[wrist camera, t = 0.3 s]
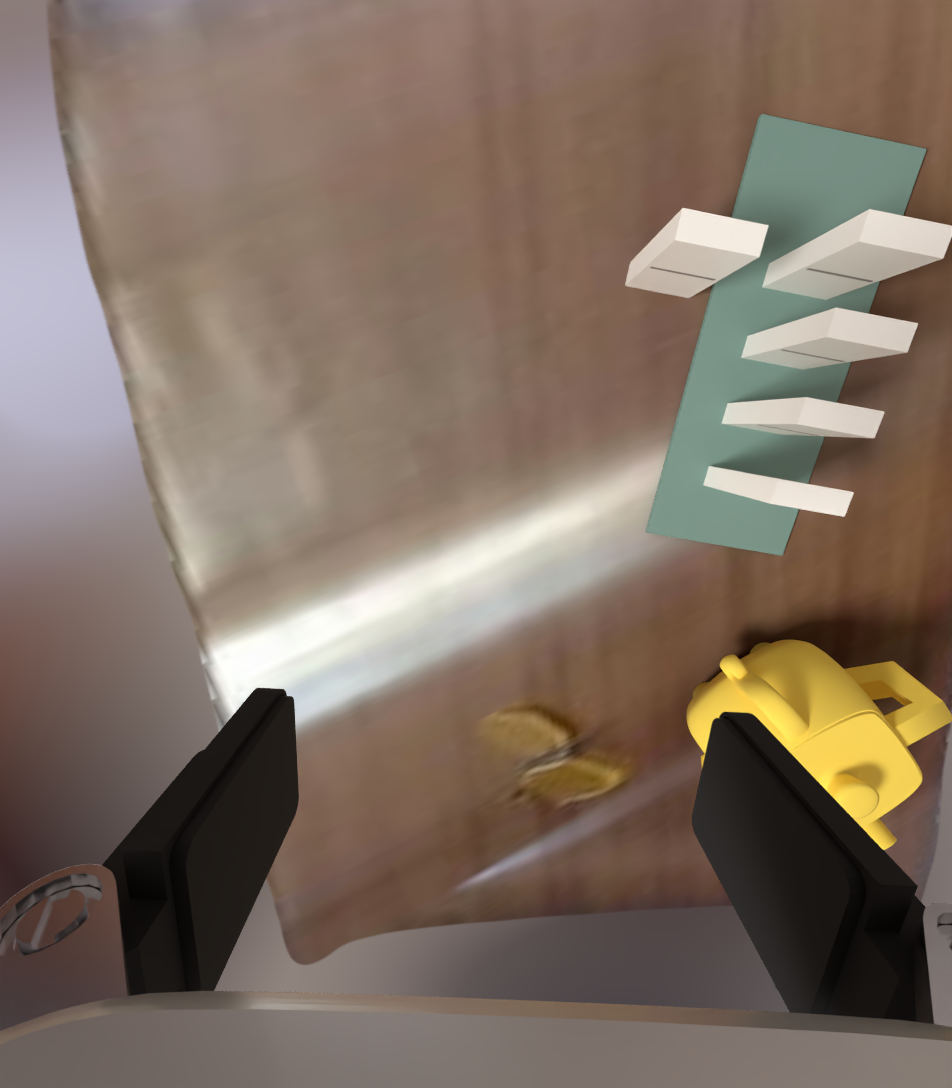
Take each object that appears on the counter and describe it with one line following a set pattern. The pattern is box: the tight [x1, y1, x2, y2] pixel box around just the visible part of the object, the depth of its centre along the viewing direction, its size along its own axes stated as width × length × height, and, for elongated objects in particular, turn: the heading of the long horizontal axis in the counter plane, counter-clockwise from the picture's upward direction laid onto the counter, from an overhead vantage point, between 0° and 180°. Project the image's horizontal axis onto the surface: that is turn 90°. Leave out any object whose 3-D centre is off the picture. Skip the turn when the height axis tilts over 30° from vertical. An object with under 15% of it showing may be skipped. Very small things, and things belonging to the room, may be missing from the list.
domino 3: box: [741, 307, 918, 369], centre depth 31 cm, size 2×5×9 cm, turn 80°
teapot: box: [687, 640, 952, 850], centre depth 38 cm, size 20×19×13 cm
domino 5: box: [703, 466, 854, 517], centre depth 34 cm, size 2×5×9 cm, turn 80°
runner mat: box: [646, 114, 927, 556], centre depth 36 cm, size 30×12×1 cm, turn 170°
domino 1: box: [625, 208, 769, 298], centre depth 30 cm, size 2×5×9 cm, turn 80°
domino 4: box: [722, 397, 884, 438], centre depth 33 cm, size 2×5×9 cm, turn 80°
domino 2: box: [762, 209, 952, 300], centre depth 30 cm, size 2×5×9 cm, turn 80°
